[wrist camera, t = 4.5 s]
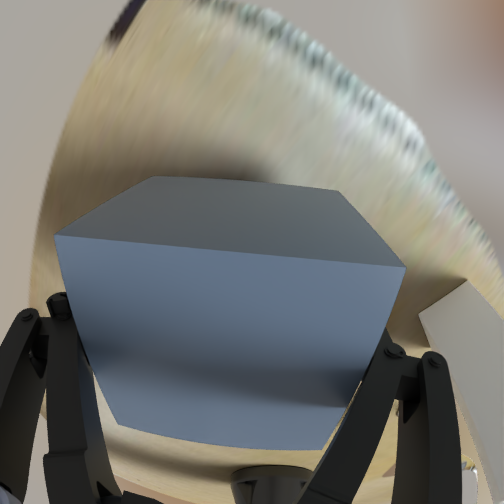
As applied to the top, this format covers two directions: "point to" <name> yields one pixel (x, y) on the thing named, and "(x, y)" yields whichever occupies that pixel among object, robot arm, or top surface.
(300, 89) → the top surface
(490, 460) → the milk
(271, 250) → the blue gray block
